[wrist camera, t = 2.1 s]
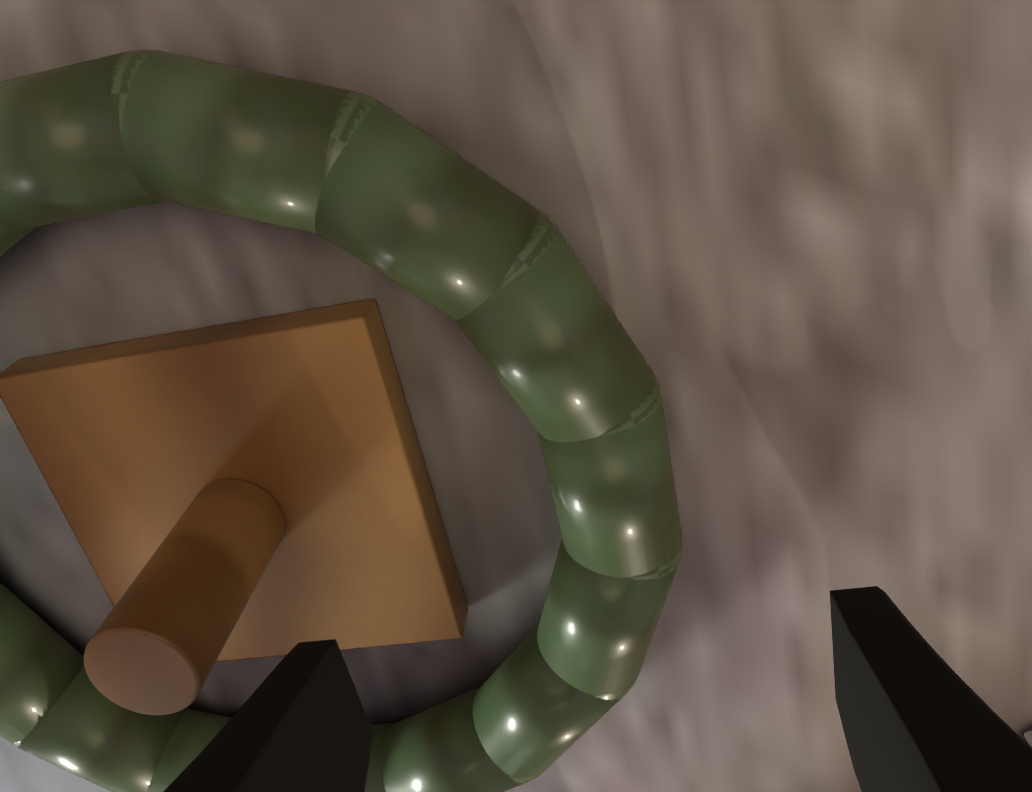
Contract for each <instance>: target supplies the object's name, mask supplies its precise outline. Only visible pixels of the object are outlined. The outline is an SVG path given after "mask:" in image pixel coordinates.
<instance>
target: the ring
mask: <svg viewBox="0 0 1032 792" xmlns="http://www.w3.org/2000/svg"><path fill="white" fill-rule="evenodd" d="M163 201H165V202H169V203H174V204H179V205H184V206H189V207H193V208H198V209H203V210H208V211H212V212H217V213H222V214H227V215H232V216H236V217H241V218H246V219H251V220H255V221H260V222H265V223H270V224H275V225H279V226H284V227H289V228H294V229H298V230H303V231H308V232H313V233H318V234H319V235H321V236H322V237H324V238H326V239H327V240H329V241H330V242H332V243H333V244H335V245H337V246H338V247H340V248H341V249H343V250H345V251H346V252H348V253H349V254H351V255H352V256H354V257H356V258H357V259H359V260H360V261H362V262H364V263H365V264H367V265H368V266H370V267H371V268H373V269H375V270H376V271H378V272H379V273H381V274H383V275H384V276H386V277H387V278H389V279H390V280H392V281H394V282H395V283H397V284H398V285H400V286H402V287H403V288H405V289H406V290H408V291H410V292H411V293H413V294H414V295H416V296H417V297H419V298H421V299H422V300H424V301H425V302H427V303H429V304H430V305H432V306H433V307H435V308H436V309H438V310H440V311H441V312H443V313H444V314H446V315H448V316H449V317H451V318H452V319H454V320H455V321H456V323H457V324H458V325H459V327H460V328H461V329H462V331H463V332H464V333H465V335H466V336H467V337H468V339H469V340H470V341H471V343H472V344H473V345H474V347H475V348H476V349H477V351H478V352H479V353H480V355H481V356H482V357H483V359H484V360H485V361H486V363H487V364H488V365H489V367H490V368H491V369H492V371H493V372H494V373H495V375H496V376H497V377H498V379H499V380H500V381H501V383H502V384H503V385H504V387H505V388H506V389H507V391H508V392H509V393H510V395H511V396H512V397H513V399H514V400H515V401H516V403H517V404H518V406H519V407H520V408H521V410H522V411H523V412H524V414H525V415H526V416H527V418H528V419H529V420H530V422H531V423H532V424H533V426H534V427H535V428H536V430H537V431H538V433H539V437H540V442H541V446H542V451H543V455H544V460H545V464H546V468H547V473H548V477H549V482H550V486H551V491H552V495H553V499H554V504H555V508H556V513H557V517H558V522H559V526H560V530H561V535H562V540H561V544H560V548H559V552H558V555H557V559H556V563H555V567H554V570H553V574H552V578H551V581H550V585H549V589H548V593H547V596H546V600H545V604H544V608H543V611H542V615H541V619H540V623H539V624H538V625H537V626H536V627H535V628H534V629H533V631H532V632H531V633H530V634H529V635H528V636H527V637H526V638H525V639H524V640H523V641H522V642H521V644H520V645H519V646H518V647H517V648H516V649H515V650H514V651H513V652H512V653H511V654H510V655H509V657H508V658H507V659H506V660H505V661H504V662H503V663H502V664H501V665H500V666H499V667H498V668H497V670H496V671H495V672H494V673H493V674H492V675H491V676H490V677H489V678H488V679H487V680H486V681H485V683H484V684H483V685H482V686H479V687H477V688H475V689H472V690H470V691H468V692H466V693H463V694H461V695H459V696H456V697H454V698H452V699H450V700H447V701H445V702H443V703H441V704H438V705H436V706H434V707H431V708H429V709H427V710H425V711H422V712H420V713H418V714H415V715H413V716H411V717H409V718H406V719H404V720H402V721H399V722H397V723H385V724H373V725H370V727H371V729H372V732H373V741H372V747H371V754H370V761H369V768H368V774H367V780H366V785H365V791H364V792H503V791H506V790H508V789H511V788H514V787H516V786H519V785H521V784H524V783H527V782H529V781H531V780H533V779H534V778H536V777H537V776H539V775H540V774H542V773H543V772H544V771H545V770H546V769H547V768H548V767H549V766H550V765H551V764H552V763H553V762H554V761H555V760H557V759H558V758H559V757H560V756H561V755H562V754H563V753H564V752H565V751H566V750H567V749H568V748H569V747H570V746H571V745H572V744H573V743H575V742H576V741H577V740H578V739H579V738H580V737H581V736H582V735H583V734H584V733H585V732H586V731H587V730H588V729H589V728H590V727H591V726H593V725H594V724H595V723H596V722H597V721H598V720H599V719H600V718H601V717H602V716H603V715H604V714H605V713H606V712H607V711H608V710H609V709H611V708H612V707H613V706H614V705H615V704H616V703H617V702H618V701H619V700H620V699H621V698H622V697H623V696H624V695H625V694H626V693H627V692H628V691H629V690H630V688H631V687H632V686H633V684H634V683H635V681H636V679H637V677H638V674H639V672H640V669H641V666H642V664H643V661H644V658H645V655H646V652H647V649H648V647H649V644H650V641H651V638H652V635H653V633H654V630H655V627H656V624H657V621H658V619H659V616H660V613H661V610H662V607H663V605H664V602H665V599H666V596H667V593H668V591H669V588H670V585H671V582H672V579H673V576H674V574H675V571H676V568H677V565H678V562H679V559H680V555H681V550H682V532H681V525H680V518H679V512H678V505H677V498H676V491H675V485H674V478H673V471H672V464H671V458H670V451H669V444H668V437H667V431H666V424H665V417H664V410H663V404H662V397H661V393H660V389H659V385H658V382H657V379H656V377H655V376H654V374H653V372H652V370H651V368H650V367H649V365H648V364H647V362H646V361H645V359H644V358H643V356H642V355H641V353H640V352H639V350H638V349H637V347H636V346H635V344H634V343H633V341H632V340H631V338H630V337H629V335H628V334H627V332H626V331H625V329H624V328H623V326H622V325H621V323H620V322H619V320H618V319H617V317H616V316H615V314H614V313H613V311H612V310H611V308H610V307H609V305H608V304H607V302H606V301H605V299H604V298H603V296H602V295H601V293H600V292H599V290H598V289H597V287H596V286H595V284H594V283H593V281H592V280H591V278H590V277H589V275H588V274H587V272H586V271H585V269H584V268H583V266H582V265H581V263H580V262H579V260H578V259H577V257H576V256H575V254H574V253H573V251H572V250H571V248H570V247H569V245H568V244H567V242H566V241H565V239H564V238H563V236H562V235H561V233H560V232H559V230H558V228H557V227H556V226H555V225H554V224H553V222H552V221H551V220H550V219H549V218H548V217H547V216H545V215H544V214H543V213H542V212H541V211H539V210H538V209H537V208H535V207H534V206H532V205H531V204H529V203H528V202H526V201H525V200H523V199H522V198H520V197H519V196H517V195H516V194H515V193H513V192H512V191H510V190H509V189H507V188H506V187H504V186H503V185H501V184H500V183H498V182H497V181H495V180H494V179H492V178H491V177H489V176H488V175H486V174H485V173H483V172H482V171H480V170H479V169H477V168H476V167H475V166H473V165H472V164H470V163H469V162H467V161H466V160H464V159H463V158H461V157H460V156H458V155H457V154H455V153H454V152H452V151H451V150H449V149H448V148H446V147H445V146H443V145H442V144H440V143H439V142H437V141H436V140H434V139H433V138H432V137H430V136H429V135H427V134H426V133H424V132H423V131H421V130H420V129H418V128H417V127H415V126H414V125H412V124H411V123H409V122H408V121H406V120H405V119H403V118H402V117H400V116H399V115H397V114H396V113H394V112H393V111H392V110H390V109H389V108H387V107H386V106H384V105H383V104H381V103H379V102H378V101H376V100H374V99H372V98H370V97H368V96H366V95H363V94H360V93H357V92H354V91H348V90H344V89H339V88H334V87H329V86H325V85H320V84H315V83H310V82H306V81H301V80H296V79H292V78H287V77H282V76H277V75H273V74H268V73H263V72H258V71H254V70H249V69H244V68H239V67H235V66H230V65H225V64H220V63H216V62H211V61H206V60H202V59H197V58H192V57H187V56H183V55H178V54H173V53H168V52H164V51H156V50H136V51H128V52H124V53H119V54H115V55H111V56H107V57H102V58H98V59H94V60H90V61H85V62H81V63H77V64H73V65H69V66H64V67H60V68H56V69H52V70H47V71H43V72H39V73H35V74H30V75H26V76H22V77H18V78H13V79H9V80H5V81H1V82H0V257H1V256H2V255H3V254H4V253H5V252H7V251H8V250H9V249H10V248H11V247H13V246H14V245H15V244H16V243H17V242H19V241H20V240H21V239H22V238H23V237H25V236H26V235H27V234H28V233H29V232H31V231H32V230H33V229H34V228H35V227H38V226H43V225H48V224H53V223H58V222H63V221H68V220H73V219H78V218H83V217H88V216H93V215H98V214H103V213H108V212H113V211H118V210H123V209H128V208H133V207H138V206H143V205H148V204H153V203H158V202H163ZM230 719H231V717H226V716H221V715H216V714H211V713H206V712H201V711H197V710H192V709H188V708H184V709H183V710H181V711H178V712H176V713H172V714H167V715H148V714H142V713H138V712H134V711H131V710H128V709H126V708H124V707H121V706H119V705H117V704H116V703H114V702H112V701H111V700H109V699H108V698H107V697H105V696H104V695H103V694H102V693H101V692H100V691H98V690H97V688H96V687H95V686H94V685H93V684H92V682H91V681H90V679H89V677H88V675H87V673H86V671H85V668H84V656H83V655H82V654H81V653H79V652H78V651H77V650H76V649H75V648H74V647H73V646H71V645H70V644H69V643H68V642H67V641H66V640H65V639H64V638H62V637H61V636H60V635H59V634H58V633H57V632H56V631H54V630H53V629H52V628H51V627H50V626H49V625H48V624H47V623H45V622H44V621H43V620H42V619H41V618H40V617H39V616H37V615H36V614H35V613H34V612H33V611H32V610H31V609H30V608H28V607H27V606H26V605H25V604H24V603H23V602H22V601H20V600H19V599H18V598H17V597H16V596H15V595H14V594H13V593H11V592H10V591H9V590H8V589H7V588H6V587H5V586H3V585H2V584H1V583H0V735H1V736H2V737H3V738H5V739H6V740H7V741H8V742H9V743H11V744H13V745H14V746H16V747H17V748H19V749H21V750H23V751H26V752H28V753H30V754H32V755H34V756H36V757H39V758H41V759H43V760H45V761H47V762H49V763H51V764H54V765H56V766H58V767H60V768H62V769H64V770H67V771H69V772H71V773H73V774H75V775H77V776H79V777H82V778H84V779H86V780H88V781H90V782H92V783H94V784H97V785H99V786H101V787H103V788H105V789H107V790H110V791H112V792H163V791H164V790H165V789H166V788H167V787H168V786H169V785H170V784H171V783H172V782H173V781H174V780H175V779H176V778H177V777H178V776H179V775H180V774H181V773H182V772H183V771H184V770H185V768H186V767H187V766H188V765H189V764H190V763H191V762H192V761H193V760H194V759H195V758H196V757H197V756H198V755H199V754H200V753H201V752H202V751H203V749H204V748H205V747H206V746H207V745H208V744H209V743H210V742H211V740H212V739H213V738H214V737H215V736H216V735H217V734H218V733H219V731H220V730H221V729H222V728H223V727H224V726H225V725H226V724H227V723H228V721H229V720H230Z"/></svg>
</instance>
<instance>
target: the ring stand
mask: <svg viewBox="0 0 1032 792" xmlns="http://www.w3.org/2000/svg"><path fill="white" fill-rule="evenodd" d="M0 397H1V399H2V400H3V402H4V404H5V406H6V408H7V410H8V412H9V413H10V415H11V417H12V419H13V421H14V423H15V425H16V426H17V428H18V430H19V432H20V434H21V436H22V438H23V439H24V441H25V443H26V445H27V447H28V449H29V450H30V452H31V454H32V456H33V458H34V460H35V462H36V463H37V465H38V467H39V469H40V471H41V473H42V475H43V476H44V478H45V480H46V482H47V484H48V486H49V488H50V489H51V491H52V493H53V495H54V497H55V499H56V501H57V502H58V504H59V506H60V508H61V510H62V512H63V514H64V515H65V517H66V519H67V521H68V523H69V525H70V527H71V528H72V530H73V532H74V534H75V536H76V538H77V540H78V541H79V543H80V545H81V547H82V549H83V551H84V552H85V554H86V556H87V558H88V560H89V562H90V564H91V565H92V567H93V569H94V571H95V573H96V575H97V577H98V578H99V580H100V582H101V584H102V586H103V588H104V590H105V591H106V593H107V595H108V597H109V599H110V601H111V603H112V604H113V606H114V608H113V610H112V611H111V612H110V614H109V615H108V616H107V618H106V619H105V620H104V622H103V623H102V624H101V626H100V627H99V629H98V630H97V631H96V633H95V634H94V635H93V637H92V638H91V639H90V641H89V642H88V644H87V646H86V648H85V652H84V668H85V671H86V673H87V675H88V677H89V679H90V681H91V682H92V684H93V685H94V686H95V687H96V688H97V690H98V691H100V692H101V693H102V694H103V695H104V696H105V697H107V698H108V699H109V700H111V701H112V702H114V703H116V704H117V705H119V706H121V707H124V708H126V709H128V710H131V711H134V712H138V713H142V714H148V715H167V714H172V713H176V712H178V711H181V710H183V709H184V708H186V707H187V706H189V705H190V704H191V703H192V702H193V701H194V700H195V699H196V697H197V695H198V693H199V692H200V690H201V688H202V686H203V684H204V682H205V680H206V679H207V677H208V675H209V673H210V671H211V669H212V667H213V666H214V664H215V662H218V661H228V660H239V659H249V658H259V657H270V656H280V655H287V654H288V653H289V652H290V651H291V650H292V649H293V648H294V647H295V646H296V645H297V644H298V643H299V642H309V641H319V640H330V639H336V641H337V644H338V646H339V649H340V650H342V649H352V648H363V647H373V646H383V645H394V644H404V643H414V642H425V641H435V640H445V639H456V638H462V636H463V631H464V626H465V621H466V616H467V611H468V607H467V604H466V600H465V597H464V594H463V590H462V587H461V584H460V580H459V577H458V574H457V570H456V567H455V564H454V560H453V557H452V554H451V550H450V547H449V544H448V540H447V537H446V534H445V530H444V527H443V524H442V520H441V517H440V514H439V510H438V507H437V504H436V500H435V497H434V494H433V490H432V487H431V484H430V480H429V477H428V474H427V470H426V467H425V464H424V460H423V457H422V454H421V450H420V447H419V444H418V440H417V437H416V434H415V430H414V427H413V424H412V420H411V417H410V414H409V410H408V407H407V404H406V400H405V397H404V394H403V390H402V387H401V384H400V380H399V377H398V374H397V370H396V367H395V364H394V360H393V357H392V354H391V350H390V347H389V344H388V340H387V337H386V334H385V330H384V327H383V324H382V320H381V317H380V314H379V310H378V307H377V304H376V301H375V299H370V300H364V301H359V302H353V303H347V304H341V305H335V306H329V307H323V308H318V309H312V310H306V311H300V312H294V313H288V314H282V315H277V316H271V317H265V318H259V319H253V320H247V321H241V322H236V323H230V324H224V325H218V326H212V327H206V328H200V329H195V330H189V331H183V332H177V333H171V334H165V335H159V336H154V337H148V338H142V339H136V340H130V341H124V342H118V343H113V344H107V345H101V346H95V347H89V348H83V349H77V350H72V351H66V352H60V353H54V354H48V355H42V356H36V357H31V358H25V359H20V360H18V361H17V362H16V363H14V364H13V365H11V366H10V367H9V368H7V369H6V370H4V371H3V372H2V373H0Z"/></svg>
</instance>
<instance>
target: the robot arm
mask: <svg viewBox="0 0 1032 792" xmlns="http://www.w3.org/2000/svg"><path fill="white" fill-rule="evenodd" d="M830 602H831V621H832V639H833V657H834V676H835V694H836V702H837V706H838V710H839V714H840V717H841V721H842V725H843V729H844V733H845V737H846V741H847V745H848V749H849V752H850V756H851V760H852V764H853V767H854V771H855V774H856V777H857V779H858V782H859V785H860V788H861V790H862V792H1032V747H1031V746H1030V745H1028V744H1027V743H1026V742H1025V741H1024V740H1023V739H1022V738H1021V737H1020V736H1019V735H1018V734H1016V733H1015V732H1014V731H1013V730H1012V729H1011V728H1010V727H1009V726H1008V725H1007V724H1006V723H1005V722H1004V721H1003V720H1002V719H1001V718H1000V717H999V716H998V715H997V714H996V713H994V712H993V711H992V710H991V709H990V708H989V706H988V705H987V704H986V703H985V702H984V701H983V700H982V699H981V698H980V697H979V696H978V695H977V694H976V693H975V692H974V691H973V690H972V689H971V688H970V687H969V686H968V685H967V684H966V683H965V682H964V681H963V680H962V679H961V678H960V677H959V676H958V675H957V674H956V673H955V672H954V671H953V670H952V669H951V668H950V667H949V666H948V665H947V664H946V662H945V661H944V660H943V659H942V658H941V657H940V656H939V655H938V654H937V653H936V652H935V650H934V649H933V648H932V647H931V646H930V645H929V644H928V643H927V642H926V640H925V639H924V638H923V637H922V636H921V635H920V634H919V633H918V631H917V630H916V629H915V628H914V627H913V626H912V624H911V623H910V622H909V621H908V620H907V619H906V617H905V616H904V615H903V614H902V613H901V611H900V610H899V609H898V608H897V606H896V605H895V604H894V603H893V602H892V600H891V599H890V598H889V596H888V595H887V594H886V593H885V592H884V591H883V590H881V589H880V588H879V587H877V586H874V587H864V588H854V589H843V590H833V591H830ZM372 741H373V732H372V729H371V727H370V724H369V722H368V719H367V716H366V714H365V711H364V709H363V706H362V704H361V701H360V699H359V696H358V694H357V691H356V689H355V686H354V684H353V681H352V679H351V676H350V674H349V671H348V669H347V666H346V664H345V661H344V659H343V656H342V654H341V651H340V649H339V646H338V644H337V641H336V639H330V640H319V641H309V642H299V643H298V644H297V645H296V646H295V647H294V648H293V649H292V650H291V651H290V652H289V653H288V654H287V655H286V656H285V658H284V659H283V660H282V661H281V662H280V663H279V664H278V665H277V667H276V668H275V669H274V670H273V671H272V672H271V673H270V675H269V676H268V677H267V678H266V679H265V680H264V681H263V683H262V684H261V685H260V686H259V687H258V688H257V690H256V691H255V692H254V693H253V694H252V695H251V696H250V698H249V699H248V700H247V701H246V702H245V703H244V704H243V706H242V707H241V708H240V709H239V710H238V711H237V712H236V714H235V715H234V716H233V717H232V718H231V719H230V720H229V721H228V723H227V724H226V725H225V726H224V727H223V728H222V729H221V730H220V731H219V733H218V734H217V735H216V736H215V737H214V738H213V739H212V740H211V742H210V743H209V744H208V745H207V746H206V747H205V748H204V749H203V751H202V752H201V753H200V754H199V755H198V756H197V757H196V758H195V759H194V760H193V761H192V762H191V763H190V764H189V765H188V766H187V767H186V768H185V770H184V771H183V772H182V773H181V774H180V775H179V776H178V777H177V778H176V779H175V780H174V781H173V782H172V783H171V784H170V785H169V786H168V787H167V788H166V789H165V790H164V791H163V792H364V791H365V785H366V780H367V774H368V768H369V761H370V754H371V747H372Z"/></svg>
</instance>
